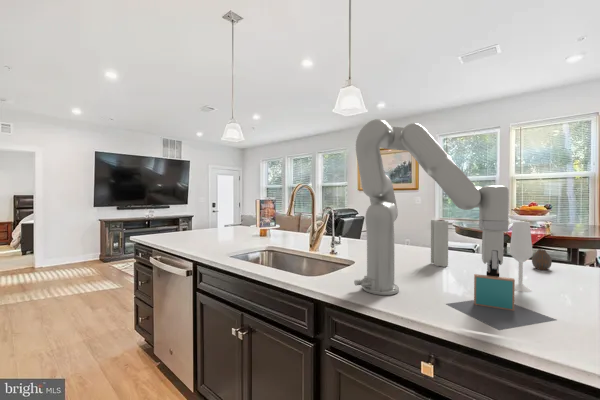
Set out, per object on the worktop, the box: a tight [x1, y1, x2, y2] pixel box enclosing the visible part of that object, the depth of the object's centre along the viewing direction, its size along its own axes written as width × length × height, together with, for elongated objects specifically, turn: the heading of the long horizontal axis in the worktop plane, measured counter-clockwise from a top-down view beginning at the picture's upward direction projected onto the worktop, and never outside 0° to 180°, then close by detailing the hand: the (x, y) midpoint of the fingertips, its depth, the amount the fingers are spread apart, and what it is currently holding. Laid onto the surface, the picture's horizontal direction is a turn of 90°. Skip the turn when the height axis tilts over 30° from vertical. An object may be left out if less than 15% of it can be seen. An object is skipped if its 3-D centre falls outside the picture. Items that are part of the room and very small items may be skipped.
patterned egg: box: [531, 248, 552, 271], centre depth 134 cm, size 7×7×9 cm
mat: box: [445, 299, 557, 331], centre depth 86 cm, size 20×18×1 cm
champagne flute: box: [508, 220, 534, 293], centre depth 106 cm, size 7×7×24 cm
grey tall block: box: [430, 219, 449, 267], centre depth 141 cm, size 7×6×21 cm
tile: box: [473, 273, 516, 311], centre depth 89 cm, size 10×2×9 cm, turn 61°
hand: (492, 285), depth 92 cm, fingers closed
